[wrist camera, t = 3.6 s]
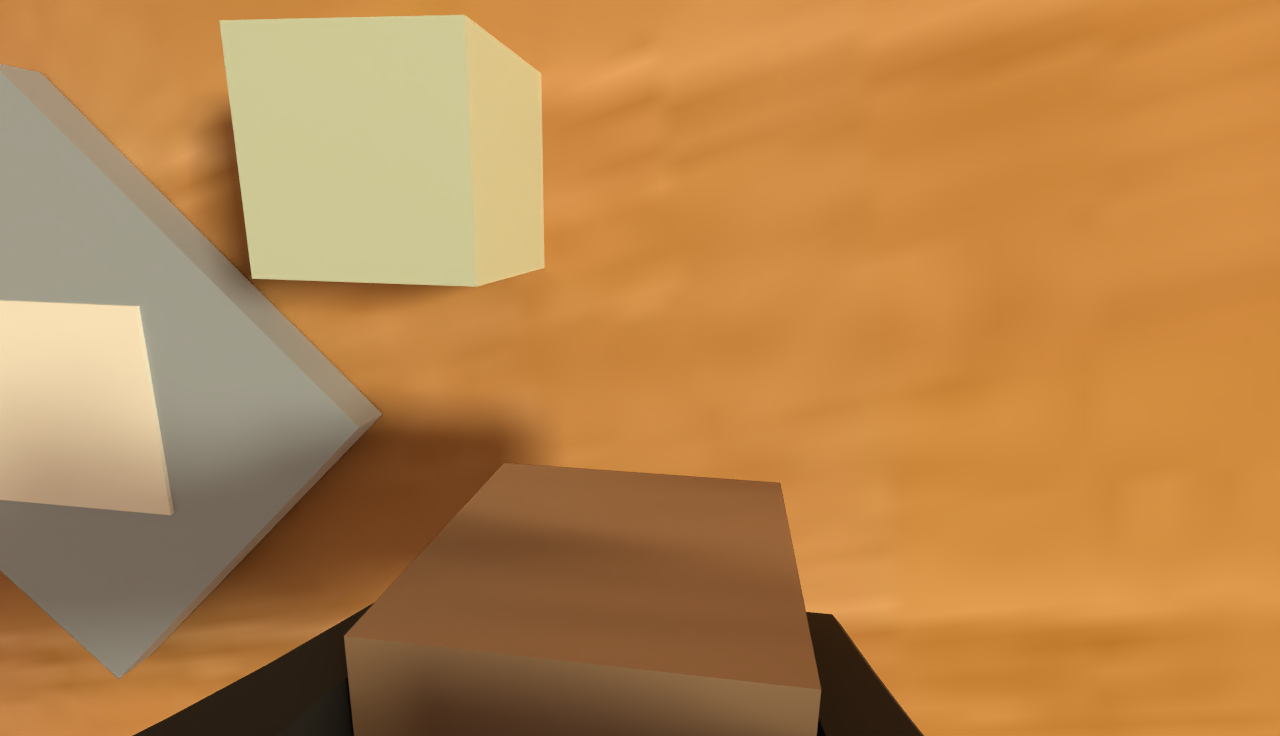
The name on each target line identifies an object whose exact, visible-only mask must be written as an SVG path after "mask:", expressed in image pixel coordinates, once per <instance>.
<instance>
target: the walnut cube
mask: <svg viewBox="0 0 1280 736" xmlns="http://www.w3.org/2000/svg"><path fill="white" fill-rule="evenodd" d="M344 642H345V652H346V662H347V671H348V681H349V691H350V701H351V710H352V720H353V730H354V736H817V727H818V717H819V707H820V697H821V686H820V681H819V676H818V671H817V666H816V661H815V656H814V651H813V645H812V640H811V635H810V630H809V625H808V620H807V615H806V610H805V605H804V600H803V595H802V590H801V585H800V580H799V575H798V570H797V565H796V560H795V555H794V550H793V545H792V540H791V535H790V530H789V525H788V520H787V514H786V509H785V504H784V499H783V494H782V489H781V484H780V483H776V482H762V481H748V480H734V479H720V478H707V477H693V476H679V475H665V474H651V473H637V472H624V471H610V470H596V469H582V468H568V467H554V466H540V465H527V464H513V463H503V464H502V466H501V467H500V468H499V469H498V470H497V471H496V472H495V473H494V474H493V475H492V476H491V477H490V479H489V480H488V481H487V482H486V483H485V484H484V485H483V486H482V487H481V488H480V489H479V490H478V491H477V493H476V494H475V495H474V496H473V497H472V498H471V499H470V500H469V501H468V502H467V503H466V504H465V506H464V507H463V508H462V509H461V510H460V511H459V512H458V513H457V514H456V515H455V516H454V517H453V519H452V520H451V521H450V522H449V523H448V524H447V525H446V526H445V527H444V528H443V529H442V530H441V532H440V533H439V534H438V535H437V536H436V537H435V538H434V539H433V540H432V541H431V542H430V543H429V544H428V546H427V547H426V548H425V549H424V550H423V551H422V552H421V553H420V554H419V555H418V556H417V557H416V559H415V560H414V561H413V562H412V563H411V564H410V565H409V566H408V567H407V568H406V569H405V570H404V572H403V573H402V574H401V575H400V576H399V577H398V578H397V579H396V580H395V581H394V582H393V583H392V585H391V586H390V587H389V588H388V589H387V590H386V591H385V592H384V593H383V594H382V595H381V596H380V597H379V599H378V600H377V601H376V602H375V603H374V604H373V605H372V606H371V607H370V608H369V609H368V610H367V612H366V613H365V614H364V615H363V616H362V617H361V618H360V619H359V620H358V621H357V622H356V623H355V625H354V626H353V627H352V628H351V629H350V630H349V631H348V632H347V633H346V634H345V635H344Z"/></svg>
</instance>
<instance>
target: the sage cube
mask: <svg viewBox="0 0 1280 736" xmlns="http://www.w3.org/2000/svg"><path fill="white" fill-rule="evenodd" d="M219 21H220V29H221V37H222V45H223V53H224V60H225V68H226V76H227V84H228V92H229V100H230V108H231V116H232V124H233V132H234V140H235V148H236V156H237V164H238V172H239V180H240V188H241V195H242V203H243V211H244V219H245V227H246V235H247V243H248V251H249V259H250V267H251V275H252V279H276V280H304V281H332V282H360V283H388V284H416V285H444V286H471V287H477V286H480V285H484V284H488V283H491V282H495V281H499V280H502V279H506V278H510V277H513V276H517V275H521V274H524V273H528V272H531V271H535V270H539V269H542V268H544V215H543V153H542V91H541V73H540V72H539V71H537V70H536V69H535V68H533V67H532V66H531V65H529V64H528V63H527V62H526V61H524V60H523V59H522V58H520V57H519V56H518V55H516V54H515V53H514V52H512V51H511V50H510V49H509V48H507V47H506V46H505V45H503V44H502V43H501V42H499V41H498V40H497V39H496V38H494V37H493V36H492V35H490V34H489V33H488V32H486V31H485V30H484V29H482V28H481V27H480V26H479V25H477V24H476V23H475V22H473V21H472V20H471V19H469V18H468V17H467V16H466V15H439V16H394V17H348V18H303V19H258V20H219Z"/></svg>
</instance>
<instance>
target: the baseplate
mask: <svg viewBox="0 0 1280 736" xmlns="http://www.w3.org/2000/svg"><path fill="white" fill-rule="evenodd" d="M381 415H382V413H381V412H380V411H379V410H378V409H377V408H376V407H375V406H374V405H373V404H372V403H371V402H370V401H369V400H368V399H367V398H366V397H365V396H364V395H363V394H362V393H361V392H360V391H359V390H358V389H357V388H356V387H355V386H354V385H353V384H352V383H351V382H350V381H349V380H348V379H347V378H346V377H345V376H344V375H343V374H342V373H341V372H340V371H339V370H338V369H337V368H336V367H335V366H334V365H333V364H332V363H331V362H330V361H329V360H328V359H327V358H326V357H325V356H324V355H323V354H322V353H321V352H320V351H319V350H318V349H317V348H316V347H315V346H314V345H313V344H312V343H311V342H310V341H309V340H308V339H307V338H306V337H305V336H304V335H303V334H302V333H301V332H300V331H299V330H298V329H297V328H296V327H295V326H294V325H293V324H292V323H291V322H290V321H289V320H288V319H287V318H286V317H285V316H284V315H283V314H282V313H281V312H280V311H279V310H278V309H277V308H276V307H275V306H274V305H273V304H272V303H271V302H270V301H269V300H268V299H267V298H266V297H265V296H264V295H263V294H262V293H261V292H260V291H259V290H258V289H257V288H256V287H255V286H254V285H253V284H252V283H251V282H250V281H249V280H248V279H247V278H246V277H245V276H244V275H243V274H242V273H241V272H240V271H239V270H238V269H237V268H236V267H235V266H234V265H233V264H232V263H231V262H230V261H229V260H228V259H227V258H226V257H225V256H224V255H223V254H222V253H221V252H220V251H219V250H218V249H217V248H216V247H215V246H214V245H213V244H212V243H211V242H210V241H209V240H208V239H207V238H206V237H205V236H204V235H203V234H202V233H201V232H200V231H199V230H198V229H197V228H196V227H195V226H194V225H193V224H192V223H191V222H190V221H189V220H188V219H187V218H186V217H185V216H184V215H183V214H182V213H181V212H180V211H179V210H178V209H177V208H176V207H175V206H174V205H173V204H172V203H171V202H170V201H169V200H168V199H167V198H166V197H165V196H164V195H163V194H162V193H161V192H160V191H159V190H158V189H157V188H156V187H155V186H154V185H153V184H152V183H151V182H150V181H149V180H148V179H147V178H146V177H145V176H144V175H143V174H142V173H141V172H140V171H139V170H138V169H137V168H136V167H135V166H134V165H133V164H132V163H131V162H130V161H129V160H128V159H127V158H126V157H125V156H124V155H123V154H122V153H121V152H120V151H119V150H118V149H117V148H116V147H115V146H114V145H113V144H112V143H111V142H110V141H109V140H108V139H107V138H106V137H105V136H104V135H103V134H102V133H101V132H100V131H99V130H98V129H97V128H96V127H95V126H94V125H93V124H92V123H91V122H90V121H89V120H88V119H87V118H86V117H85V116H84V115H83V114H82V113H81V112H80V111H79V110H78V109H77V108H76V107H75V106H74V105H73V104H72V103H71V102H70V101H69V100H68V99H67V98H66V97H65V96H64V95H63V94H62V93H61V92H60V91H59V90H58V89H57V88H56V87H55V86H54V85H53V84H52V83H51V82H50V81H49V80H48V79H47V78H46V77H45V76H44V75H43V74H42V73H41V72H36V71H31V70H27V69H22V68H17V67H12V66H8V65H3V64H0V571H1V572H2V573H3V574H4V575H6V576H7V577H8V578H9V579H10V580H11V581H12V582H13V583H14V584H15V585H16V586H18V587H19V588H20V589H21V590H22V591H23V592H24V593H25V594H26V595H27V596H28V597H30V598H31V599H32V600H33V601H34V602H35V603H36V604H37V605H38V606H39V607H40V608H42V609H43V610H44V611H45V612H46V613H47V614H48V615H49V616H50V617H51V618H52V619H54V620H55V621H56V622H57V623H58V624H59V625H60V626H61V627H62V628H63V629H65V630H66V631H67V632H68V633H69V634H70V635H71V636H72V637H73V638H74V639H75V640H77V641H78V642H79V643H80V644H81V645H82V646H83V647H84V648H85V649H86V650H87V651H89V652H90V653H91V654H92V655H93V656H94V657H95V658H96V659H97V660H98V661H99V662H101V663H102V664H103V665H104V666H105V667H106V668H107V669H108V670H109V671H110V672H111V673H113V674H114V675H115V676H116V677H117V678H118V679H120V678H121V677H122V676H124V675H125V674H126V673H128V672H129V671H130V670H132V669H133V668H134V667H136V666H137V665H138V664H140V663H141V662H142V661H144V660H145V659H146V658H148V657H149V656H150V655H151V654H152V653H153V652H154V651H155V650H156V649H157V648H158V647H159V646H160V645H161V644H162V643H163V642H164V641H165V640H166V639H167V638H168V637H169V636H170V635H171V634H172V633H173V632H174V630H175V629H176V628H177V627H178V626H179V625H180V624H181V623H182V622H183V621H184V620H185V619H186V618H187V617H188V616H189V615H190V614H191V613H192V612H193V611H194V610H195V609H196V608H197V607H198V606H199V604H200V603H201V602H202V601H203V600H204V599H205V598H206V597H207V596H208V595H209V594H210V593H211V592H212V591H213V590H214V589H215V588H216V587H217V586H218V585H219V584H220V583H221V582H222V581H223V580H224V578H225V577H226V576H227V575H228V574H229V573H230V572H231V571H232V570H233V569H234V568H235V567H236V566H237V565H238V564H239V563H240V562H241V561H242V560H243V559H244V558H245V557H246V556H247V555H248V554H249V552H250V551H251V550H252V549H253V548H254V547H255V546H256V545H257V544H258V543H259V542H260V541H261V540H262V539H263V538H264V537H265V536H266V535H267V534H268V533H269V532H270V531H271V530H272V529H273V528H274V526H275V525H276V524H277V523H278V522H279V521H280V520H281V519H282V518H283V517H284V516H285V515H286V514H287V513H288V512H289V511H290V510H291V509H292V508H293V507H294V506H295V505H296V504H297V503H298V502H299V500H300V499H301V498H302V497H303V496H304V495H305V494H306V493H307V492H308V491H309V490H310V489H311V488H312V487H313V486H314V485H315V484H316V483H317V482H318V481H319V480H320V479H321V478H322V477H323V475H324V474H325V473H326V472H327V471H328V470H329V469H330V468H331V467H332V466H333V465H334V464H335V463H336V462H337V461H338V460H339V459H340V458H341V457H342V456H343V455H344V454H345V453H346V452H347V451H348V449H349V448H350V447H351V446H352V445H353V444H354V443H355V442H356V441H357V440H358V439H359V438H360V437H361V436H362V435H363V434H364V433H365V432H366V431H367V430H368V429H369V428H370V427H371V426H372V425H373V423H374V422H375V421H376V420H377V419H378V418H379V417H380V416H381Z"/></svg>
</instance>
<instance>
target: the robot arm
mask: <svg viewBox="0 0 1280 736" xmlns="http://www.w3.org/2000/svg"><path fill="white" fill-rule="evenodd" d="M373 604H374V603H373ZM373 604H371V605H370V606H368V607H366V608H364V609H363V610H361V611H359V612H358V613H356V614H354V615H352V616H351V617H349V618H347V619H346V620H344V621H342V622H340V623H339V624H337V625H335V626H334V627H332V628H330V629H328V630H327V631H325V632H323V633H321V634H320V635H318V636H316V637H314V638H313V639H311V640H309V641H308V642H306V643H304V644H302V645H301V646H299V647H297V648H295V649H294V650H292V651H290V652H289V653H287V654H285V655H283V656H282V657H280V658H278V659H276V660H275V661H273V662H271V663H269V664H268V665H266V666H264V667H262V668H260V669H258V670H256V671H255V672H253V673H251V674H249V675H247V676H245V677H243V678H242V679H240V680H238V681H236V682H234V683H232V684H230V685H228V686H227V687H225V688H223V689H221V690H219V691H217V692H215V693H214V694H212V695H210V696H208V697H206V698H204V699H202V700H200V701H199V702H197V703H195V704H193V705H191V706H189V707H187V708H186V709H184V710H182V711H180V712H178V713H176V714H174V715H173V716H171V717H169V718H167V719H165V720H163V721H161V722H159V723H157V724H155V725H153V726H151V727H149V728H147V729H145V730H143V731H141V732H139V733H137V734H135V735H133V736H354V730H353V720H352V710H351V701H350V691H349V681H348V671H347V662H346V652H345V642H344V635H345V634H346V633H347V632H348V631H349V630H350V629H351V628H352V627H353V626H354V625H355V623H356V622H357V621H358V620H359V619H360V618H361V617H362V616H363V615H364V614H365V613H366V612H367V610H368V609H369V608H370V607H371V606H372V605H373ZM806 615H807V620H808V625H809V630H810V635H811V640H812V645H813V651H814V656H815V661H816V666H817V671H818V676H819V681H820V686H821V697H820V707H819V717H818V727H817V736H924V735H923V734H922V733H921V732H920V730H919V729H918V728H917V727H916V725H915V724H914V723H913V722H912V720H911V719H910V718H909V717H908V715H907V714H906V713H905V711H904V710H903V709H902V708H901V706H900V705H899V704H898V702H897V701H896V700H895V698H894V697H893V696H892V695H891V693H890V692H889V690H888V689H887V688H886V686H885V685H884V684H883V682H882V681H881V680H880V678H879V677H878V676H877V674H876V673H875V672H874V670H873V669H872V668H871V666H870V665H869V664H868V662H867V661H866V659H865V658H864V657H863V655H862V654H861V652H860V651H859V650H858V648H857V647H856V646H855V644H854V643H853V641H852V640H851V638H850V637H849V636H848V634H847V633H846V631H845V630H844V629H843V627H842V626H841V624H840V623H839V622H838V621H837V620H836V619H835V617H834V616H833V615H831V614H821V613H811V612H806Z"/></svg>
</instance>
